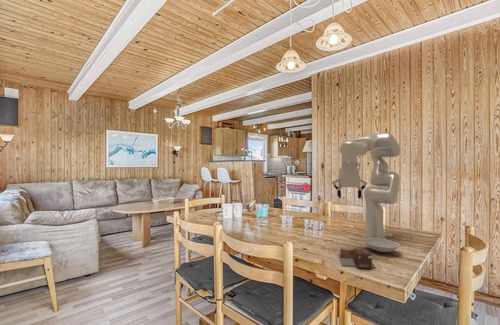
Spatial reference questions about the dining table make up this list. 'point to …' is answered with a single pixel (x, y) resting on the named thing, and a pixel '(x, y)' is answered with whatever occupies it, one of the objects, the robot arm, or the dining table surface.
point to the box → (362, 258)
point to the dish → (381, 244)
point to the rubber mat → (349, 262)
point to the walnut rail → (347, 253)
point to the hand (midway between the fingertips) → (349, 198)
